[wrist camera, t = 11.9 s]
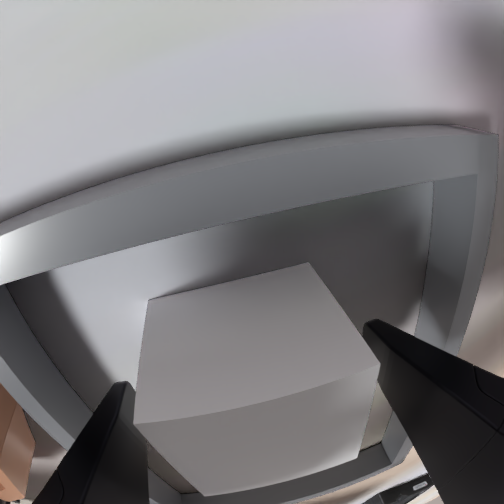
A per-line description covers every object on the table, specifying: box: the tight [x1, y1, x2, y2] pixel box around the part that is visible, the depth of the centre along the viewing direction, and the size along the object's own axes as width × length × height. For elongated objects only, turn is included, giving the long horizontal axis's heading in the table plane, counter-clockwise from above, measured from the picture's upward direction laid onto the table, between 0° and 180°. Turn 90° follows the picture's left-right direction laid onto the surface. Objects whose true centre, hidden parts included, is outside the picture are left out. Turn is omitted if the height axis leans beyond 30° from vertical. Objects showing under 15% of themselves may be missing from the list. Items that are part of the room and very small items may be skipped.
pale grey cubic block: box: [133, 262, 380, 496], centre depth 7 cm, size 4×4×4 cm
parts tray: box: [0, 125, 498, 504], centre depth 10 cm, size 19×15×2 cm
